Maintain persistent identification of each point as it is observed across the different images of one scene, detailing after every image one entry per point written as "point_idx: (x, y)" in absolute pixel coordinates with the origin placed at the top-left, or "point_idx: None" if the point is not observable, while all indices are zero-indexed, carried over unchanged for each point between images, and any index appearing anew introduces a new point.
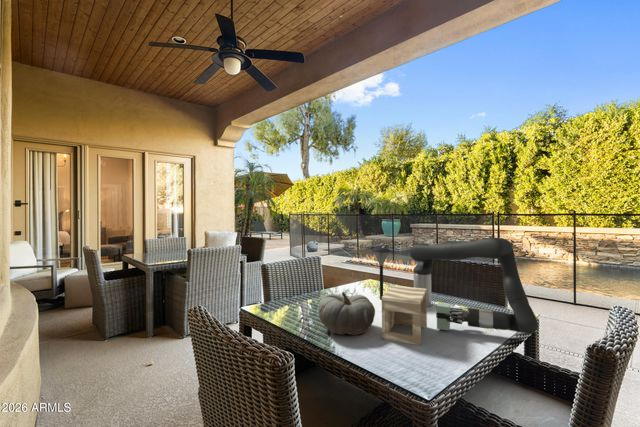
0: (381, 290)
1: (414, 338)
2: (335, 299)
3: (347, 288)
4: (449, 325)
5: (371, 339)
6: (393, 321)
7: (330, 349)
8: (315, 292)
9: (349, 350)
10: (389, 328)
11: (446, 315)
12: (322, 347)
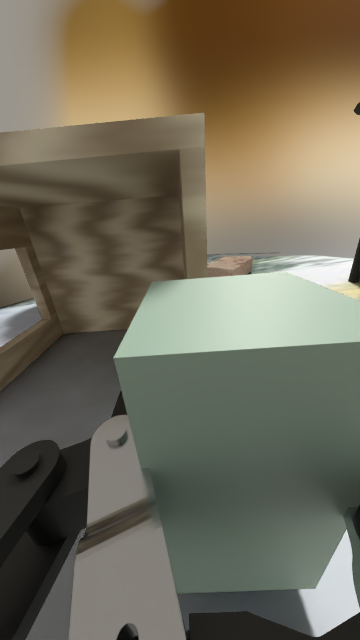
0: (358, 254)
1: None
2: None
3: (338, 258)
4: (191, 571)
5: None
6: None
7: (21, 304)
8: (266, 256)
9: (6, 315)
10: (108, 320)
11: (103, 440)
12: (33, 298)
